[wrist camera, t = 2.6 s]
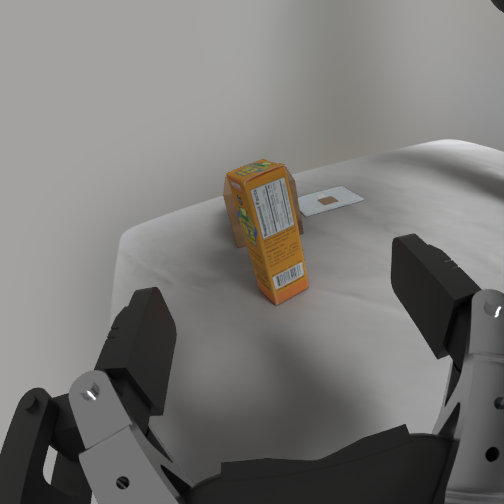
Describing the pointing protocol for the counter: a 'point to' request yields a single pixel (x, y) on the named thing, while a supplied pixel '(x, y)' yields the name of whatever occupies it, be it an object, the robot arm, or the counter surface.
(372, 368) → the counter surface
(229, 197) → the base brick
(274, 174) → the supplement box
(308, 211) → the page
